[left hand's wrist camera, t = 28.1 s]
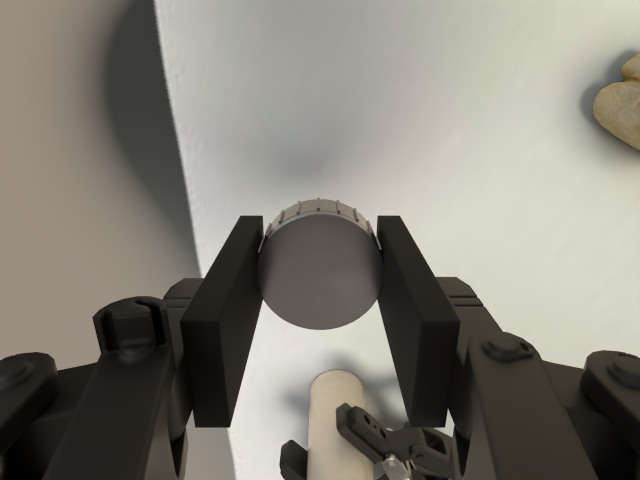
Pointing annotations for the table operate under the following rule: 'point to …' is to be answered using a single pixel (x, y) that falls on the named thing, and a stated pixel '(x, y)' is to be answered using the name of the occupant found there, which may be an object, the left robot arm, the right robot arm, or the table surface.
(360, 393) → the bottle
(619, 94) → the sculpture
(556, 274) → the table surface
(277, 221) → the cap
